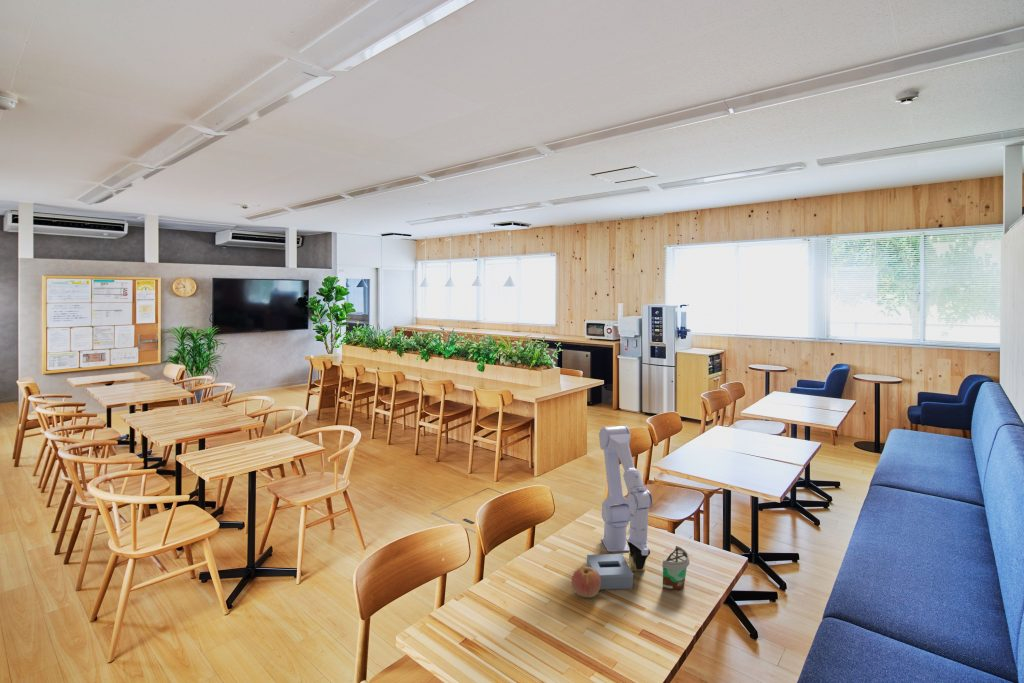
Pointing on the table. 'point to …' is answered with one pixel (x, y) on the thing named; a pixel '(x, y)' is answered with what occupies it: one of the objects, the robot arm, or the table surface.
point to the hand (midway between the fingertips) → (637, 564)
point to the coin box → (611, 571)
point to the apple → (586, 582)
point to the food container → (675, 570)
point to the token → (632, 563)
